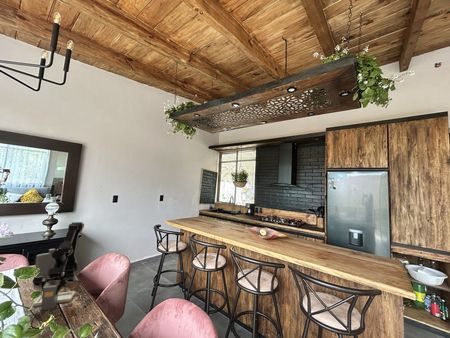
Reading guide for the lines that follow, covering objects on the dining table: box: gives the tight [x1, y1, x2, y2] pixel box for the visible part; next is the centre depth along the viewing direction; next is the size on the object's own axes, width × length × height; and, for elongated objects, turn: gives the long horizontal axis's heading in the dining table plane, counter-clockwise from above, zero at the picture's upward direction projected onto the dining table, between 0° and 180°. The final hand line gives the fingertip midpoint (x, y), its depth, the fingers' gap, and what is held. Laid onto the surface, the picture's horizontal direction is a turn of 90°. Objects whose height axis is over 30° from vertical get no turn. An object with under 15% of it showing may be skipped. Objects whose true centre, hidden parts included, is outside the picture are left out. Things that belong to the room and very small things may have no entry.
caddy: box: [40, 280, 61, 311], centre depth 111 cm, size 5×6×12 cm
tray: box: [33, 290, 76, 307], centre depth 118 cm, size 9×17×2 cm, turn 113°
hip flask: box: [33, 248, 64, 279], centre depth 142 cm, size 16×4×20 cm, turn 137°
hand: (49, 295), depth 110 cm, fingers closed on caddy, 5 cm apart
